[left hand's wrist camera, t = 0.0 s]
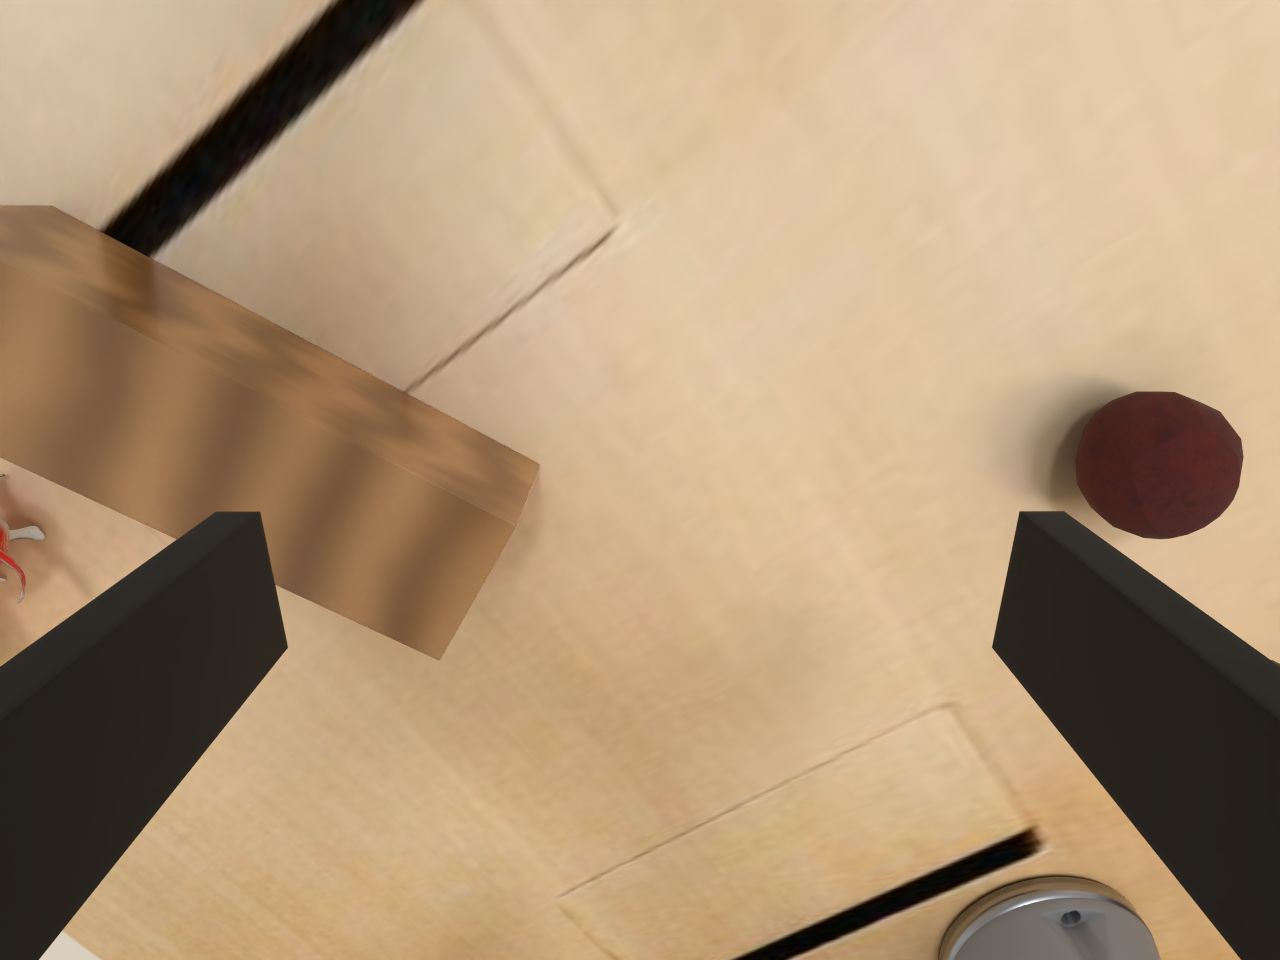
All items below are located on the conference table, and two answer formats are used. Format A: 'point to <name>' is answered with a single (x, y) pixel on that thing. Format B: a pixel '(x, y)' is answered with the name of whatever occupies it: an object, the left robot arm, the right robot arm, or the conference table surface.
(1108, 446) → the dark red ball
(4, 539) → the fish
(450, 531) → the box
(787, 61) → the conference table surface
